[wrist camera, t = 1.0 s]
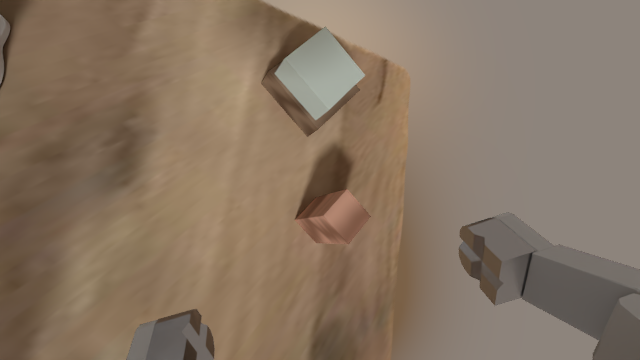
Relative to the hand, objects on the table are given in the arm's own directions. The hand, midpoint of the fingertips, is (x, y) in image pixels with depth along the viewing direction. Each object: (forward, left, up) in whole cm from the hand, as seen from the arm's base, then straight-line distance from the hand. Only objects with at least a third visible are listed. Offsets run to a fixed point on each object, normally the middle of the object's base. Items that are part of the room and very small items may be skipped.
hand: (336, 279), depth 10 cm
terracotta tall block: (+9, +14, -37) cm, 40 cm away
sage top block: (-7, +28, -33) cm, 43 cm away
